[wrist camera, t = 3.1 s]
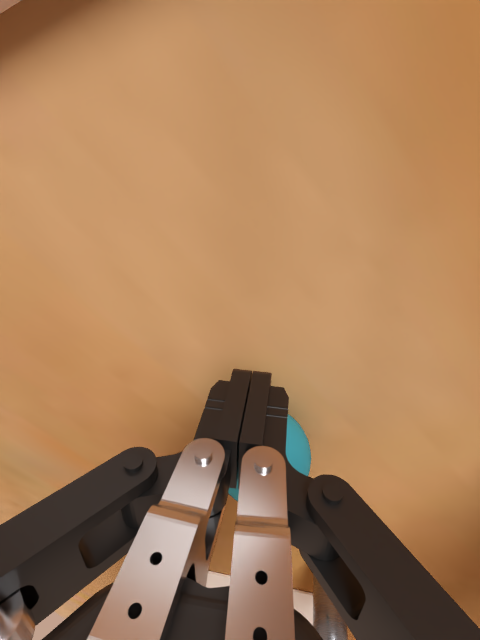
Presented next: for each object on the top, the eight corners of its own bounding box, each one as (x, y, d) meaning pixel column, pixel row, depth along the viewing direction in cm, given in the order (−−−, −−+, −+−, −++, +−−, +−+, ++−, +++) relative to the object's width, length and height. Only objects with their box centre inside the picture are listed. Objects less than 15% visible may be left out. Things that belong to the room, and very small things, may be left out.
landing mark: (321, 595, 36) (321, 597, 36) (304, 649, 43) (304, 651, 43) (186, 566, 38) (185, 568, 38) (191, 622, 45) (191, 624, 45)
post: (345, 553, 32) (355, 695, 24) (340, 568, 33) (348, 707, 25) (315, 547, 32) (315, 685, 24) (311, 562, 33) (310, 698, 26)
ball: (317, 393, 23) (317, 474, 18) (305, 455, 26) (303, 539, 21) (225, 380, 24) (201, 454, 19) (224, 442, 27) (204, 519, 22)
